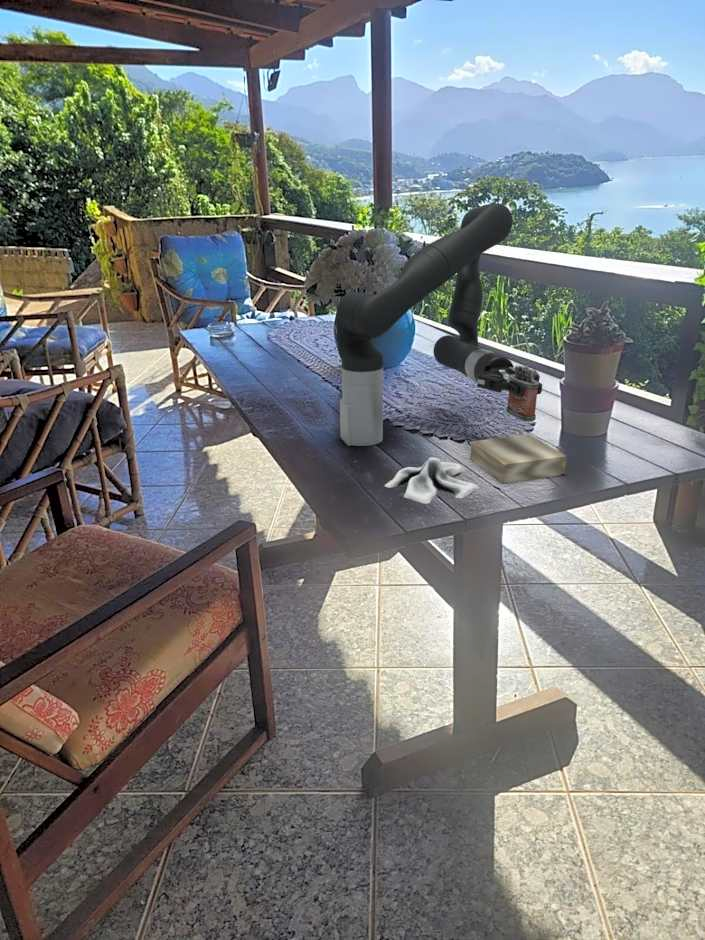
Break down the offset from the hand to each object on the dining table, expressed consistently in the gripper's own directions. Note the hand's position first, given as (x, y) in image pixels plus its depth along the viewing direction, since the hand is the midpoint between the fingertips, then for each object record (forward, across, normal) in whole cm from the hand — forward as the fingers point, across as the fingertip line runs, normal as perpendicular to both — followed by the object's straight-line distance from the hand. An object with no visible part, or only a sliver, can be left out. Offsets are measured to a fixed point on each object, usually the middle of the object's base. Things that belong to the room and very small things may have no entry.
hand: (530, 390), depth 130 cm
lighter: (-3, 0, +6) cm, 7 cm away
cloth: (-1, -21, +18) cm, 28 cm away
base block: (-3, 0, +17) cm, 17 cm away
